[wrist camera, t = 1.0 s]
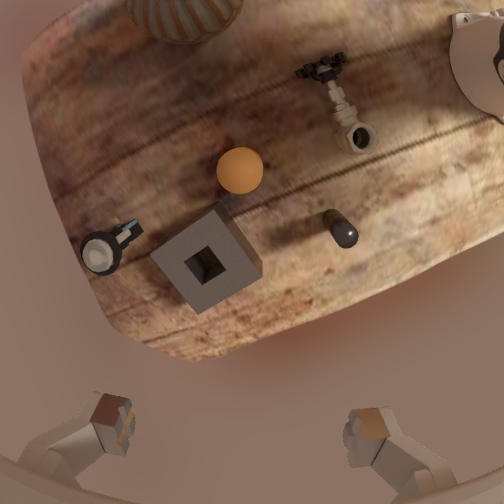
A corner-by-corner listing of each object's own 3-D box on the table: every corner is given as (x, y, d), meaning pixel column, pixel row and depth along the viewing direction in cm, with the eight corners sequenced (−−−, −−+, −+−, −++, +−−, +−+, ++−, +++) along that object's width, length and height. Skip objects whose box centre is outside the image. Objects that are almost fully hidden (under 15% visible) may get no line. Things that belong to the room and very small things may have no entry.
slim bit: (335, 205, 41) (351, 221, 34) (345, 221, 42) (362, 240, 34) (319, 215, 42) (331, 233, 34) (328, 231, 42) (342, 252, 35)
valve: (376, 143, 38) (338, 59, 34) (395, 145, 32) (352, 47, 28) (331, 161, 39) (292, 76, 36) (344, 166, 33) (297, 65, 29)
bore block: (219, 200, 41) (213, 209, 37) (262, 261, 44) (262, 277, 39) (161, 241, 44) (149, 254, 39) (203, 296, 46) (197, 314, 42)
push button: (118, 260, 45) (87, 290, 35) (98, 230, 43) (62, 254, 34) (151, 238, 43) (124, 266, 34) (130, 206, 42) (97, 226, 33)
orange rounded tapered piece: (248, 138, 39) (246, 139, 33) (270, 171, 40) (272, 177, 34) (215, 161, 40) (207, 165, 34) (237, 193, 41) (233, 202, 35)
